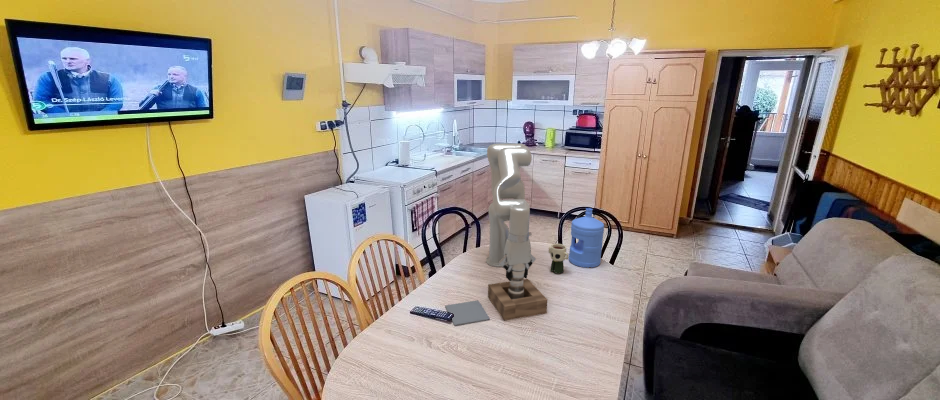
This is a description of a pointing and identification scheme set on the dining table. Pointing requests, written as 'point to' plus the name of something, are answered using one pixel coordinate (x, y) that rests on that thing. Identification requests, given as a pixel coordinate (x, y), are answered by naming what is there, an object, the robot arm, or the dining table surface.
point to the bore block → (517, 301)
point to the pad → (467, 313)
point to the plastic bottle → (517, 281)
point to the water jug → (586, 241)
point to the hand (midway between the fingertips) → (516, 277)
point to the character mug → (558, 257)
